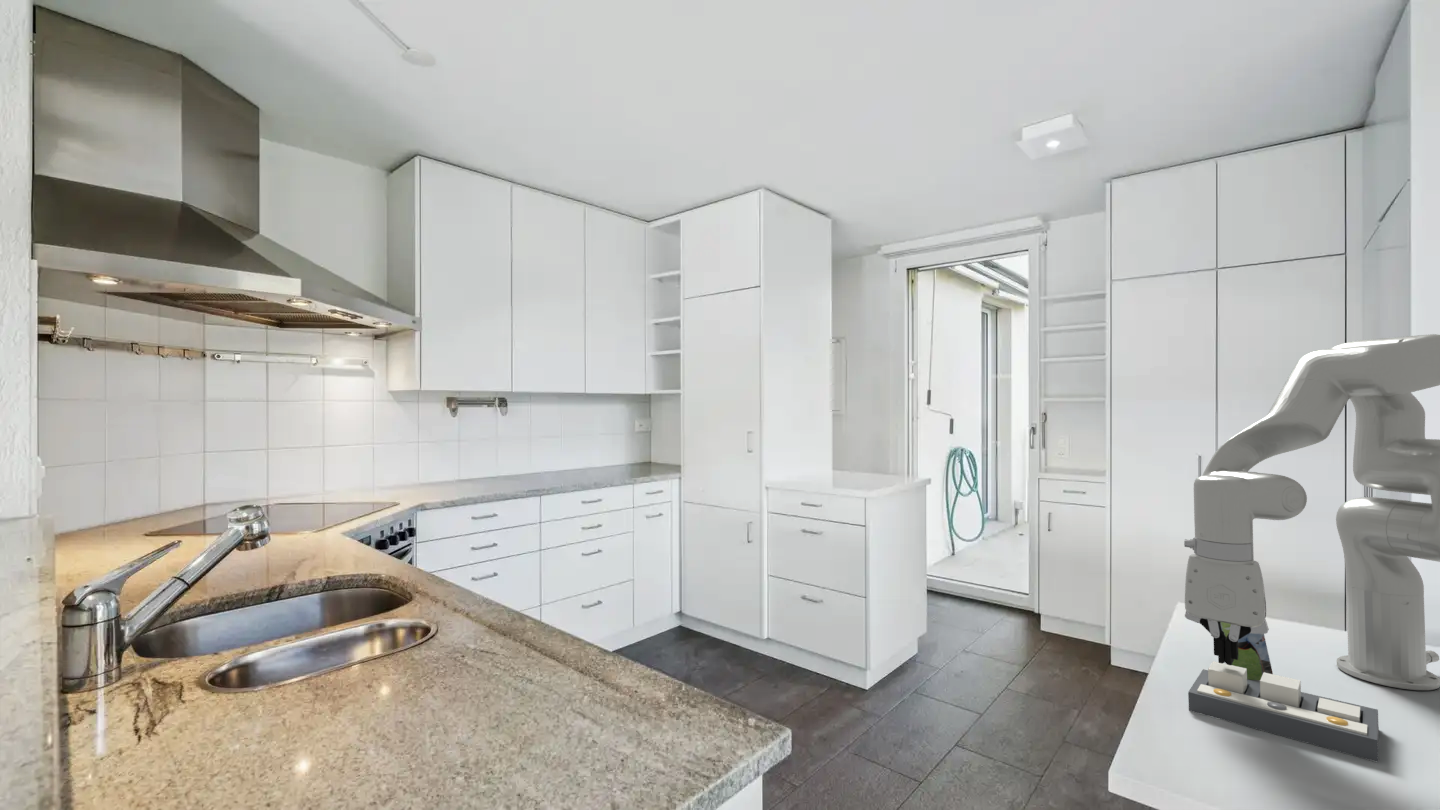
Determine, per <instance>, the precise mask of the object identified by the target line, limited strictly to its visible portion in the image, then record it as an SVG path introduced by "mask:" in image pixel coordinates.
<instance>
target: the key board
mask: <svg viewBox="0 0 1440 810" xmlns="http://www.w3.org/2000/svg"><path fill="white" fill-rule="evenodd" d="M1187 694H1188V695H1187V696H1188V711H1189V712H1194V713H1197V714H1201V715H1204V716H1208V717H1212V718H1215V719H1219V720H1222V721H1224V722H1225V721H1226V722H1229V723H1233V724H1237V725H1240V726H1244V727H1248V728H1251V729H1255V730H1258V731H1263V732H1266V733H1270V734H1274V735H1276V736H1280V737H1285V738H1289V739H1292V740H1294V741H1299V742H1303V743H1306V744H1308V745H1313V746H1317V747H1321V748H1325V749H1329V750H1331V751H1336V752H1339V753H1342V754H1347V755H1350V756H1354V757H1358V758H1361V759H1364V760H1368V761H1372V762H1375V763H1376V762H1377V763H1379V736H1380V735H1379V731H1380V729H1379V709H1377V708H1373V707H1368V706H1364V705H1359V704H1355V703H1350V702H1347V701H1342V700H1338V699H1333V698H1329V697H1325V696H1321V695H1317V694H1312V693H1308V692H1303V691H1301V702H1300V706H1299V707H1295V706H1291V705H1286V704H1282V703H1278V702H1274V701H1270V700H1266V699H1262V698H1260V682H1256V681H1252V680H1248V679H1247V689H1246V691H1245V693H1244V694H1242V693H1237V692H1233V691H1229V690H1225V689H1221V688H1217V687H1213V686H1209V682H1208V669H1204V668H1203V669H1202V670H1201V672H1199V675H1198V676H1197V677H1196V679H1195V681H1193V684H1192V685H1191V686H1190V689H1189V690H1188V693H1187ZM1319 698H1324V699H1328V700H1332V701H1337V702H1341V703H1345V704H1350V705H1354V706H1358V707H1360V715H1361V723H1360V722H1356V721H1352V720H1348V719H1344V718H1339V717H1335V716H1331V715H1327V714H1323V713H1319V712H1318V710H1317V707H1318V702H1319Z"/></svg>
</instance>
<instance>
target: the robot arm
mask: <svg viewBox="0 0 1440 810" xmlns="http://www.w3.org/2000/svg"><path fill="white" fill-rule="evenodd" d="M1288 375H1289V376H1288V377H1287V379H1286V381H1285V383H1284V384H1283V386H1282V388H1281V389H1280V391H1279V393H1278V395H1277V396H1276V398H1275V400H1274V402H1273V404H1272V406H1271V407H1270V408H1269V411H1268V413H1267V414H1266V415H1265V416H1264V417H1262V418H1261V419H1259V420H1257V421H1256V422H1254V423H1252V424H1250V425H1249V426H1247V427H1246V428H1244V429H1242V430H1241V431H1240V432H1237V433H1236V434H1235V435H1233V436H1232V437H1230V438H1228V439H1227V440H1225V442H1224V443H1222V444H1221V445H1220V446H1219V447H1218V449H1216V451H1215V452H1214V454H1213V455H1212V457H1211V459H1210V460H1209V462H1208V464H1207V466H1205V469H1204V471H1203V474H1202V475H1199V476H1198V477H1197V478H1195V480H1194V481H1193V514H1194V517H1193V518H1194V519H1193V520H1194V537H1193V538H1190V539H1186V538H1185V539H1184V542H1183V543H1184V544H1183V545H1184V547H1185V548H1189V549H1192V551H1193V553H1192V554H1190V555H1189V556H1188V561H1187V564H1186V573H1185V587H1184V608H1185V609H1184V610H1185V614H1184V617H1185V618H1186V619H1187V620H1189V621H1192V622H1194V623H1197V624H1200V625H1201V626H1202V627H1203V628H1204V629H1205V630H1206V631H1207V632H1208V633H1209V634H1210V636H1211V637H1212V639H1213V655H1214V656H1217V657H1218V661H1217V662H1219V663H1222V664H1223V663H1224V664H1227V665H1232V663H1233V661H1234V659H1235V660H1238V640H1239V639H1241V638H1242V637H1244V636H1246V635H1247V634H1249V633H1253V634H1264V635H1266V634H1268V632H1269V629H1270V628H1269V626H1268V622H1267V619H1266V617H1267V602H1266V593H1265V592H1266V590H1265V584H1264V579H1263V574H1262V570H1261V567H1260V563H1259V561H1257V560H1254V559H1255V558H1254V525H1253V524H1254V522H1253V521H1254V519H1255V520H1256V519H1258V520H1260V519H1261V520H1270V521H1285V520H1290V519H1293V518H1295V517H1297V516H1298V515H1299V514H1301V513H1302V512H1303V511H1304V509H1305V508H1306V506H1307V502H1308V497H1307V495H1308V494H1307V492H1306V490H1305V488H1304V487H1303V485H1301V483H1299V482H1298V481H1297V480H1295V479H1293V478H1291V477H1288V476H1285V475H1282V474H1273V473H1265V472H1256V471H1250V470H1251V469H1252V468H1254V467H1255V466H1257V465H1258V464H1259V463H1261V462H1263V461H1264V460H1267V459H1269V458H1272V457H1275V456H1277V455H1281V454H1285V453H1289V452H1293V451H1296V450H1299V449H1303V448H1307V447H1311V446H1314V445H1316V444H1318V443H1321V442H1323V441H1324V440H1326V439H1327V438H1328V437H1329V436H1330V433H1331V432H1332V430H1333V429H1334V427H1335V425H1336V423H1337V421H1338V419H1339V417H1340V416H1341V414H1342V412H1343V410H1344V408H1345V406H1346V405H1347V403H1348V401H1349V400H1350V401H1351V402H1352V405H1353V408H1354V410H1355V411H1354V412H1355V430H1354V431H1355V433H1354V442H1353V443H1354V445H1353V457H1352V472H1353V476H1354V479H1355V481H1357V482H1358V483H1359V484H1360V485H1362V486H1364V487H1367V488H1369V489H1373V490H1379V491H1386V492H1387V491H1388V492H1395V493H1404V494H1416V495H1425V496H1430V499H1431V503H1429V502H1420V501H1410V500H1405V499H1394V498H1385V497H1375V496H1374V497H1371V496H1365V497H1356V498H1352V499H1349V500H1346V501H1345V502H1344V503H1342V504H1341V505H1340V507H1338V510H1337V511H1336V516H1335V522H1336V524H1335V525H1336V529H1337V533H1338V536H1339V539H1340V542H1341V546H1342V551H1343V558H1344V565H1345V568H1344V569H1345V595H1346V596H1345V597H1346V599H1345V600H1346V622H1347V624H1346V625H1347V628H1346V629H1347V655H1342V656H1339V657H1337V658H1336V666H1337V668H1338V669H1339V670H1341V671H1342V672H1344V673H1345V674H1347V675H1350V676H1352V677H1354V678H1357V679H1360V680H1363V681H1366V682H1369V683H1373V684H1376V685H1381V686H1386V687H1391V688H1397V689H1401V690H1410V691H1411V690H1412V691H1434V690H1436V689H1439V688H1440V678H1439V677H1438V676H1437V675H1436V674H1434V673H1433V672H1431V671H1428V670H1427V665H1428V664H1430V663H1435V662H1438V661H1439V660H1440V656H1439V654H1438V653H1437V652H1436V651H1434V650H1427V649H1426V629H1425V628H1426V621H1425V620H1426V619H1425V615H1426V614H1425V587H1424V586H1425V585H1424V581H1423V578H1422V575H1421V574H1420V572H1419V570H1418V568H1417V567H1416V566H1415V564H1414V563H1413V562H1412V561H1411V559H1410V558H1415V559H1421V560H1426V561H1433V562H1438V563H1440V439H1439V438H1438V439H1433V438H1431V439H1430V438H1426V433H1425V432H1426V411H1425V408H1424V406H1423V405H1422V403H1421V402H1420V401H1419V399H1417V397H1416V396H1415V395H1414V394H1413V393H1415V392H1418V391H1423V390H1426V389H1430V388H1433V387H1434V388H1435V387H1438V386H1440V334H1438V333H1437V334H1435V333H1432V334H1419V335H1405V336H1398V337H1395V336H1394V337H1387V338H1386V337H1385V338H1383V337H1382V338H1371V339H1362V340H1361V339H1360V340H1354V341H1348V342H1344V343H1343V342H1342V343H1340V344H1337V345H1335V346H1333V347H1331V348H1324V349H1318V350H1314V351H1311V352H1310V351H1309V352H1308V353H1307V354H1305V355H1303V356H1301V357H1300V359H1298V360H1297V362H1296V363H1295V365H1294V367H1293V368H1292V371H1291V372H1290V374H1288ZM1409 557H1410V558H1409ZM1221 622H1224V623H1229V624H1231V627H1230V632H1229V634H1228V635H1227V636H1225V635H1224V632H1223V630H1222V626H1221Z"/></svg>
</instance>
